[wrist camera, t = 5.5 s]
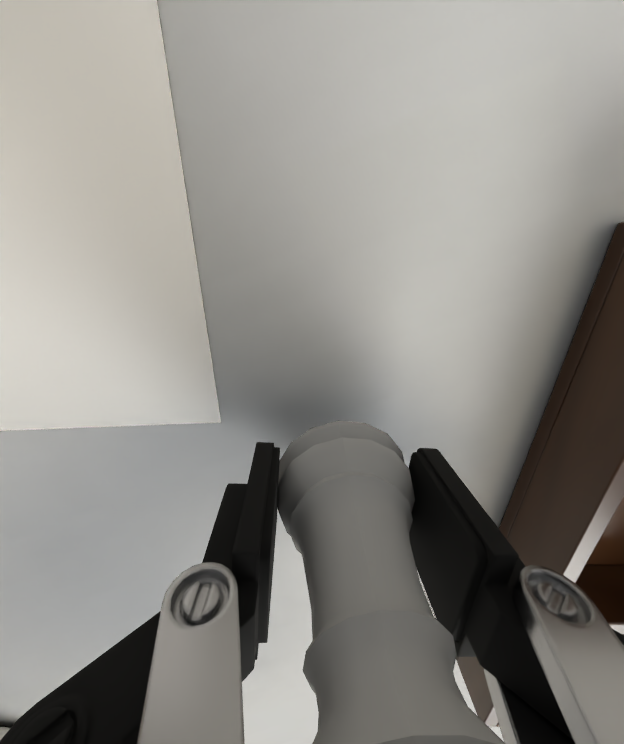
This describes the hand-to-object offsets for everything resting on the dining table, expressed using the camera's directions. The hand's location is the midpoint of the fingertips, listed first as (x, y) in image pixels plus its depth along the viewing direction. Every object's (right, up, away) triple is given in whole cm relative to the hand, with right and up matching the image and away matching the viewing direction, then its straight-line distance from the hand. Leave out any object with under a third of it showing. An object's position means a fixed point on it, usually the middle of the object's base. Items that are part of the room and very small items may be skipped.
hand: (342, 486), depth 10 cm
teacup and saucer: (-15, +11, -2) cm, 18 cm away
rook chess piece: (0, 0, +1) cm, 1 cm away
